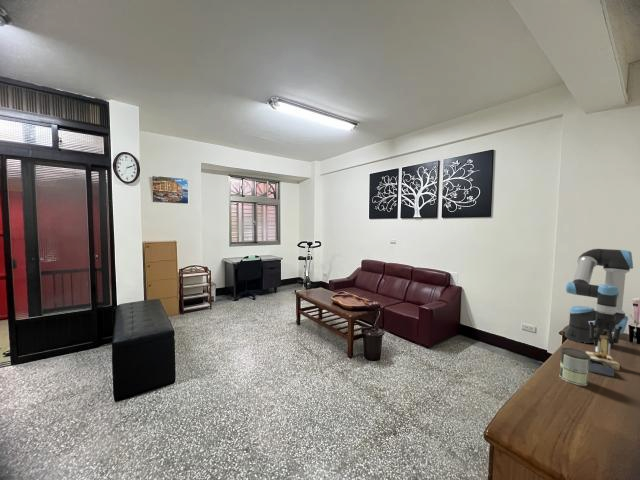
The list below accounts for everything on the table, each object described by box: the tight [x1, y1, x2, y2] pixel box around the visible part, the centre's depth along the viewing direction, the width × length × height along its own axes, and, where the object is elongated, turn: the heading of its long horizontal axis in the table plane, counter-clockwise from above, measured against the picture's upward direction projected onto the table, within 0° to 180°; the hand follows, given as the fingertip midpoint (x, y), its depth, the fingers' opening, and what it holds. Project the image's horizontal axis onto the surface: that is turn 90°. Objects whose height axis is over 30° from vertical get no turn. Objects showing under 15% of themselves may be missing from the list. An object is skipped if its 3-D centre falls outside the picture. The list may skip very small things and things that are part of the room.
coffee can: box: [558, 347, 590, 387], centre depth 130 cm, size 10×10×14 cm
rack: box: [585, 350, 621, 371], centre depth 149 cm, size 12×10×4 cm
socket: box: [588, 358, 615, 378], centre depth 142 cm, size 10×10×4 cm
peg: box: [597, 336, 609, 360], centre depth 149 cm, size 4×4×13 cm
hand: (602, 352), depth 149 cm, fingers closed on peg, 3 cm apart
